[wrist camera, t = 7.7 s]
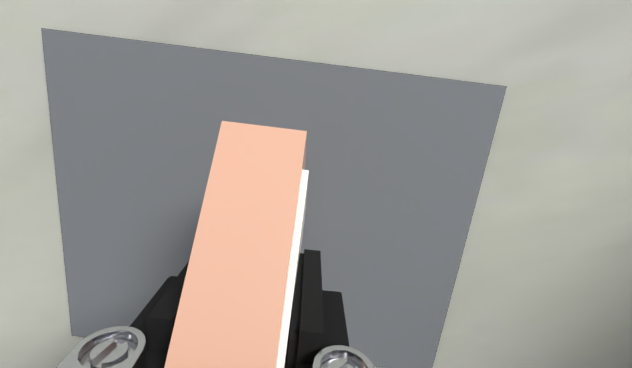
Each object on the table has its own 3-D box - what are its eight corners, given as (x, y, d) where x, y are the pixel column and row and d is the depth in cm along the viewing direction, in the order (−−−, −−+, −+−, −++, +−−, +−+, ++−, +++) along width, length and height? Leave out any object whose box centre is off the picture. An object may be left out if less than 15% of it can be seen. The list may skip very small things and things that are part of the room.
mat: (501, 86, 13) (506, 86, 13) (428, 366, 17) (431, 372, 17) (49, 30, 13) (41, 28, 12) (77, 329, 17) (71, 335, 16)
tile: (306, 208, 14) (313, 131, 8) (275, 459, 11) (243, 686, 5) (256, 202, 14) (221, 120, 8) (213, 453, 11) (92, 671, 5)
